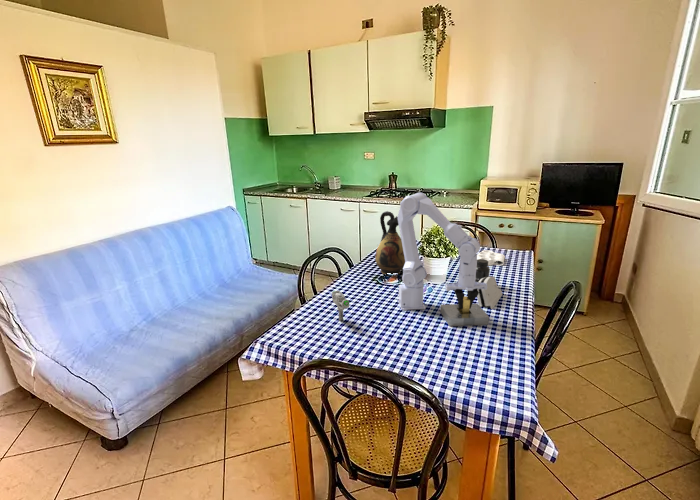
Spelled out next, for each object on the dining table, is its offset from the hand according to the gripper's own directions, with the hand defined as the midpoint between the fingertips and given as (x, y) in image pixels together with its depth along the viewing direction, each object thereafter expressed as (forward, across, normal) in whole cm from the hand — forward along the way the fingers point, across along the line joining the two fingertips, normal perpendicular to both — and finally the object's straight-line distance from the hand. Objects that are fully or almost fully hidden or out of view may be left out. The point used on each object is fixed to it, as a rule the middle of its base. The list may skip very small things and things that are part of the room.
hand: (464, 307), depth 133 cm
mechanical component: (+4, -45, +2) cm, 45 cm away
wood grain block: (+4, 0, 0) cm, 4 cm away
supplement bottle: (+4, +17, +28) cm, 33 cm away
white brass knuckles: (+5, +35, +60) cm, 70 cm away
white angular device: (+5, +15, +15) cm, 22 cm away
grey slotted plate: (+4, 0, 0) cm, 4 cm away
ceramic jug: (+4, -20, +49) cm, 53 cm away
